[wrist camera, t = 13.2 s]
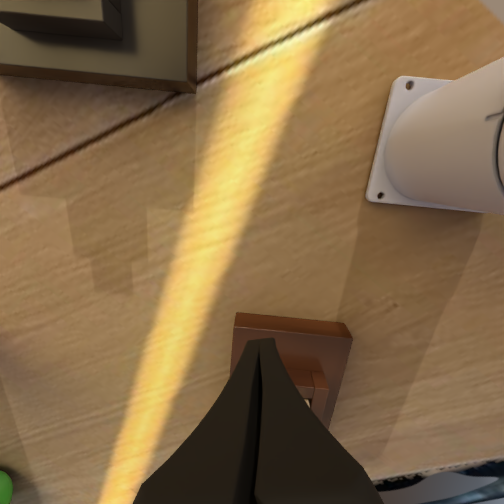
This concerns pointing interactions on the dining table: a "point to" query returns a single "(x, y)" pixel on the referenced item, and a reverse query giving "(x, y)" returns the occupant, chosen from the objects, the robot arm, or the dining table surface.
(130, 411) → the dining table surface
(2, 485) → the speaker
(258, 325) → the tiered wooden pedestal
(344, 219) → the dining table surface
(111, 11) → the tiered pedestal stand
